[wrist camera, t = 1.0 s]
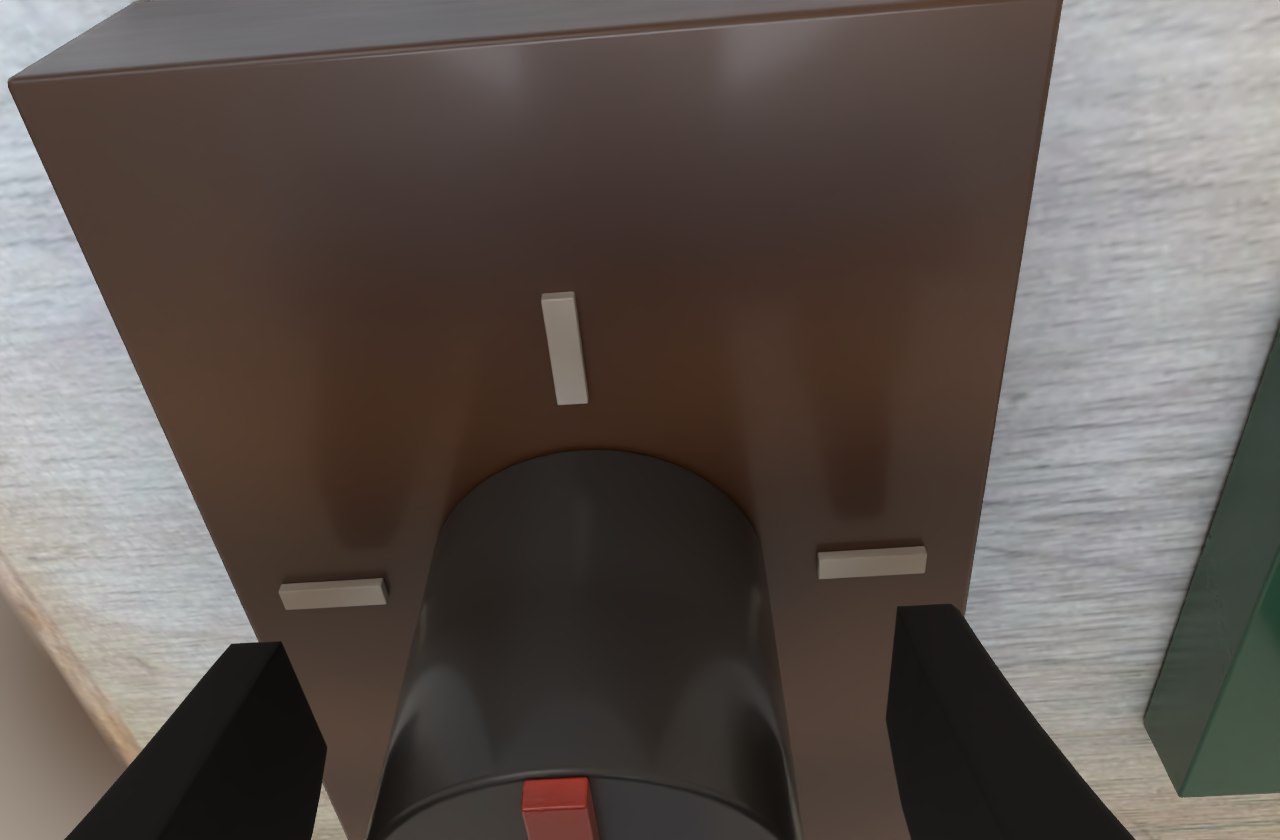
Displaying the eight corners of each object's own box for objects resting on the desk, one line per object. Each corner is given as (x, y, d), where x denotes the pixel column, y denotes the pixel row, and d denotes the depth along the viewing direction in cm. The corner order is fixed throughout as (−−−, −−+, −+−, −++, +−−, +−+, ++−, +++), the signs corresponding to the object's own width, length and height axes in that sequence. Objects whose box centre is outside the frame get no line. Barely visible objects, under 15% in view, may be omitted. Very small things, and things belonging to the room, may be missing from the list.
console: (894, 704, 20) (931, 855, 17) (393, 730, 20) (358, 881, 18) (978, -74, 11) (1074, -6, 9) (130, 0, 12) (-9, 84, 9)
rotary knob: (765, 676, 15) (811, 1034, 11) (466, 691, 15) (404, 1049, 11) (762, 435, 12) (823, 792, 8) (400, 458, 12) (288, 817, 8)
